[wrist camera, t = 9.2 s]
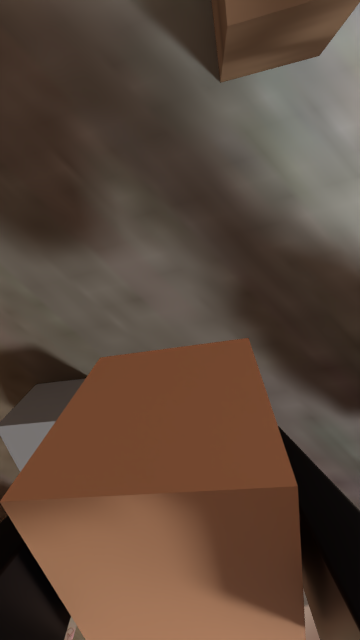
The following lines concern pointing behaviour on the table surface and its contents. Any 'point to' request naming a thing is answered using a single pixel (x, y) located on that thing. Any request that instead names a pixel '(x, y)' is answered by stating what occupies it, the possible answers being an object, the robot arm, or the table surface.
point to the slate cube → (35, 418)
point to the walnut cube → (273, 32)
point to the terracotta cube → (168, 501)
